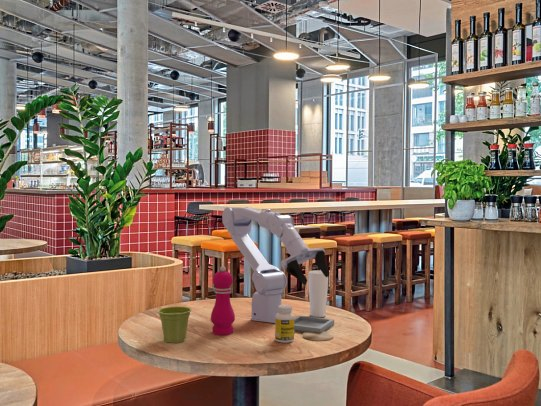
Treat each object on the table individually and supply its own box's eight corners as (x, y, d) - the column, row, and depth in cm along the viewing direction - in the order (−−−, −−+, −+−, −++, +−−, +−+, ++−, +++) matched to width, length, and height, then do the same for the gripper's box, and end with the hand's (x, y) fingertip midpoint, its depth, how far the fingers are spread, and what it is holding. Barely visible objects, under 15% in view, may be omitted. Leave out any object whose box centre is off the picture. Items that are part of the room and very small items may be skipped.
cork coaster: (297, 338, 152) (297, 336, 152) (309, 330, 160) (309, 329, 160) (326, 342, 148) (327, 341, 148) (337, 334, 156) (337, 333, 156)
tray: (283, 329, 162) (283, 323, 162) (299, 320, 172) (299, 315, 172) (320, 334, 156) (320, 328, 156) (334, 325, 167) (334, 319, 167)
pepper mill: (224, 327, 164) (224, 263, 163) (239, 332, 158) (239, 266, 158) (205, 332, 158) (205, 265, 158) (221, 337, 153) (221, 268, 153)
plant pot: (152, 339, 151) (152, 309, 151) (182, 333, 157) (182, 304, 157) (166, 347, 144) (166, 315, 144) (197, 341, 149) (197, 310, 149)
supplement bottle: (279, 344, 147) (280, 309, 147) (272, 338, 152) (272, 305, 151) (297, 341, 149) (297, 307, 149) (289, 336, 154) (289, 303, 154)
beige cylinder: (327, 318, 175) (327, 273, 175) (306, 317, 176) (306, 273, 176) (328, 314, 182) (329, 270, 181) (309, 313, 183) (309, 269, 183)
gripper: (276, 243, 157) (297, 278, 149) (317, 230, 163) (340, 263, 155) (272, 257, 162) (293, 292, 154) (312, 244, 168) (335, 277, 160)
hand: (316, 279), depth 155 cm, fingers open, 7 cm apart
